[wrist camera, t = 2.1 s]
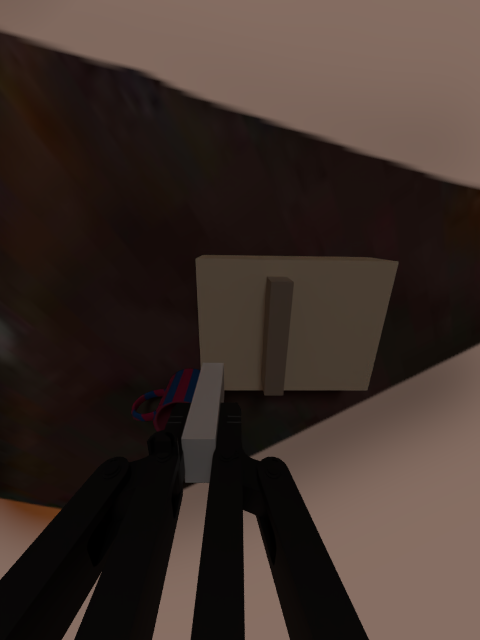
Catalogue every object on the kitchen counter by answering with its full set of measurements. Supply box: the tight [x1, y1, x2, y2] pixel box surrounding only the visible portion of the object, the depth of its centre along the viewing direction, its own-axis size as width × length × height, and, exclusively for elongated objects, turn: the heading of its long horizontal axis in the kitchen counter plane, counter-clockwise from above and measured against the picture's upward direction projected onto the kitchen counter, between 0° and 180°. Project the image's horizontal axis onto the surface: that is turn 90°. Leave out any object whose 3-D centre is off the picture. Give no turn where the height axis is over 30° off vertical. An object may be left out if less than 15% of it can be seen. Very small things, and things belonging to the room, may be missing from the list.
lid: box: [196, 258, 398, 395], centre depth 24 cm, size 20×15×4 cm
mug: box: [132, 369, 200, 432], centre depth 30 cm, size 7×10×7 cm
